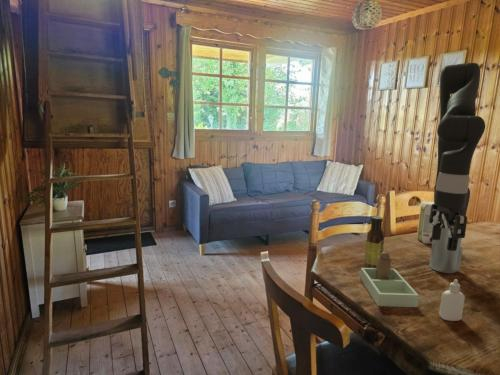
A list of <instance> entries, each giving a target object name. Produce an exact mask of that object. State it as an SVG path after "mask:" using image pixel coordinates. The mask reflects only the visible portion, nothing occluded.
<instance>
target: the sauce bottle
mask: <svg viewBox="0 0 500 375" xmlns="http://www.w3.org/2000/svg"><path fill="white" fill-rule="evenodd" d="M370 218H371V221H370V222H371V226H370V229H369V230H368V232H367V235H366V244H365V256H364V266H365V268H376V267H377V257H378V256H380V253H381V252H384V243H385V242H384V241H385V237H384V233H383V230H382V227H383V226H382V225H383V220H384V219H383V217H381V216H378V215H374V216H371V217H370Z"/></svg>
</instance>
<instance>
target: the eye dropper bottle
mask: <svg viewBox="0 0 500 375" xmlns="http://www.w3.org/2000/svg"><path fill="white" fill-rule="evenodd" d="M460 289H461V284H459V281H458V279H455V278H454V280H453V282H450V284H449V289H447V290H444V291H443V292H442V294H441V299H440V306H439V311H438V312H439V313H438V315H439V317H440V318H441V319H443V320H444V321H449V322H451V321H452V322H456V321H460V320H462V317H463V312H464V305H465V300H466V299H465V298H466V296H465V295H464V293H462V292H461V291H460Z"/></svg>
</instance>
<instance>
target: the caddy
mask: <svg viewBox="0 0 500 375" xmlns="http://www.w3.org/2000/svg"><path fill="white" fill-rule="evenodd" d="M359 279H360V280H361V282H362V283H363V285H364V286H365V289H366V290H367V291H368V293H369V295H370V297H372V300H374V302H375V304H376V305H377V307H394V308H396V307H397V308H398V307H399V308H400V307H401V308H402V307H403V308H418V305H419V298H420V297H419V296H420V295H419V294H418V292H417V291H416V290H415V289H414V288H413V287H412V286H411V285H410V284H409V283H408V282H407V281H406V280H405V278H404V277H403V276H402V275H401V274H400V273H399V271H397V270H396V268H392V258H391V256H390V254H389V252H387V251H383V252H381V253H380V256H378V257H377V267H376V268H368V267H360V273H359Z"/></svg>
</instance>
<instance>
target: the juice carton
mask: <svg viewBox="0 0 500 375" xmlns="http://www.w3.org/2000/svg"><path fill="white" fill-rule="evenodd" d="M432 204H434V201H424V200H423V201H421V205H420V209H419V217H418V226H417V232H416V233H417V234H416V238H417V240H418V241H419V242H421V243H422V244H431V245H432V242H433V239H432V238H431V237H432V230H433V227H432V223H429V218H430V212H431V206H432ZM434 217H435V216H433V218H434Z"/></svg>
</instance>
